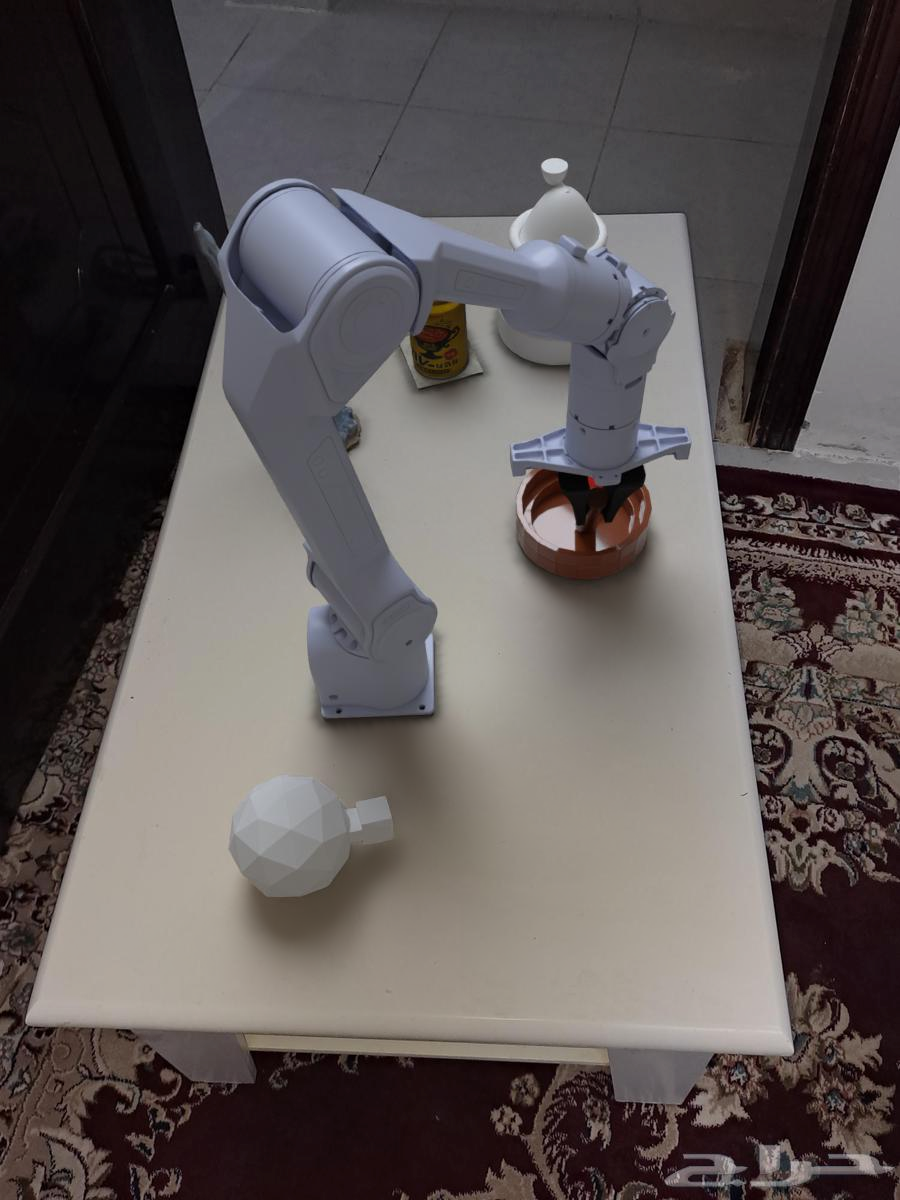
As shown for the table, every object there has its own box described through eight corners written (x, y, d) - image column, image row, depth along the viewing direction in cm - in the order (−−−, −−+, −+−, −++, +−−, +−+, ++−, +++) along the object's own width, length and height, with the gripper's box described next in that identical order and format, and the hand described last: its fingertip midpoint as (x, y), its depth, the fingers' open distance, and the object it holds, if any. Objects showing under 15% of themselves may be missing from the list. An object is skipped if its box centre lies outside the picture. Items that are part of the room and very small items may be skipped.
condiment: (418, 390, 105) (408, 297, 95) (397, 339, 110) (386, 246, 100) (483, 373, 106) (480, 280, 96) (459, 323, 111) (454, 230, 101)
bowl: (519, 585, 90) (520, 559, 87) (512, 484, 97) (512, 456, 94) (654, 579, 90) (660, 553, 87) (637, 478, 97) (642, 450, 94)
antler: (367, 411, 104) (331, 196, 83) (353, 468, 100) (312, 255, 79) (260, 405, 105) (198, 192, 85) (242, 461, 101) (172, 250, 80)
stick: (578, 537, 92) (589, 511, 84) (572, 517, 93) (582, 489, 85) (599, 531, 92) (611, 505, 85) (593, 511, 93) (604, 484, 85)
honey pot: (479, 307, 112) (475, 159, 98) (581, 275, 115) (592, 126, 100) (528, 379, 105) (531, 231, 91) (636, 343, 108) (656, 193, 93)
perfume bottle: (242, 936, 72) (404, 899, 74) (224, 853, 66) (399, 816, 69) (231, 845, 78) (380, 813, 81) (214, 763, 73) (374, 732, 76)
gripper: (518, 450, 74) (516, 559, 86) (710, 431, 75) (683, 542, 86) (506, 385, 78) (506, 497, 90) (688, 367, 79) (666, 481, 90)
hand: (592, 515), depth 88 cm, fingers closed on stick, 2 cm apart
